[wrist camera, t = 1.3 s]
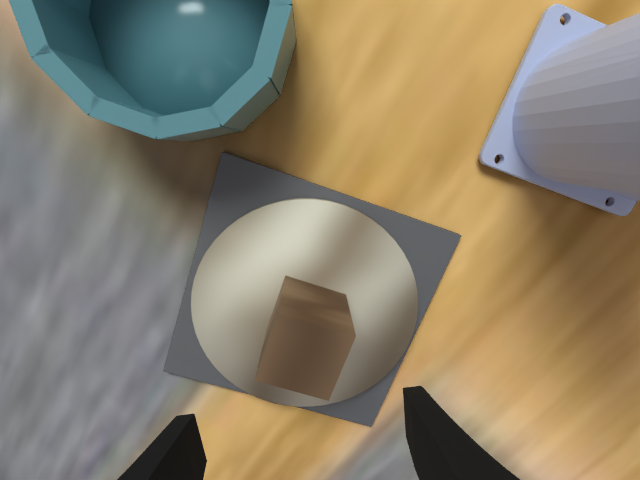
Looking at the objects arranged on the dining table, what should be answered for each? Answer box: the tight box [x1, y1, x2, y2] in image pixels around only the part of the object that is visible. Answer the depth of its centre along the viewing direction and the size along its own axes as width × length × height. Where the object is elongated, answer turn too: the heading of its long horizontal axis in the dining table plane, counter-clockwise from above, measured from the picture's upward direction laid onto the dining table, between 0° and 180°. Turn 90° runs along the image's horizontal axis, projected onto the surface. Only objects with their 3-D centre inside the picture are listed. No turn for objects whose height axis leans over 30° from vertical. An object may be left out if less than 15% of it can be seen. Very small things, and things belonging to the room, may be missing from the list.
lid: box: [191, 198, 418, 407], centre depth 18 cm, size 13×13×5 cm
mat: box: [163, 152, 461, 427], centre depth 20 cm, size 14×14×1 cm
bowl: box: [9, 0, 296, 141], centre depth 14 cm, size 10×10×4 cm
